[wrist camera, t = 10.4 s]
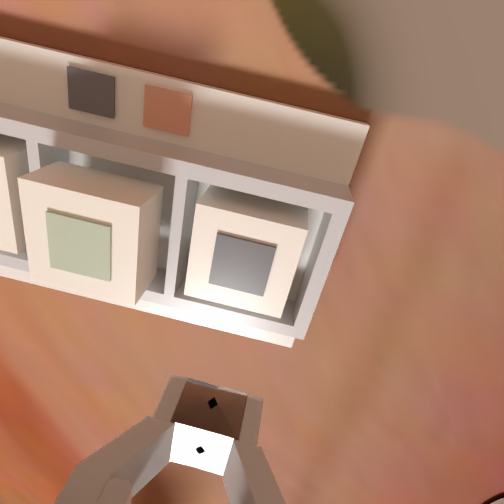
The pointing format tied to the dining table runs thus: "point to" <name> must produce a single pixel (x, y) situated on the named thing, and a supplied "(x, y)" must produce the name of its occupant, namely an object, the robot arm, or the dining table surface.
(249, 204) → the charcoal key
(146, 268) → the sage key
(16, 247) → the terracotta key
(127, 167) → the keypad base
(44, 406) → the dining table surface
